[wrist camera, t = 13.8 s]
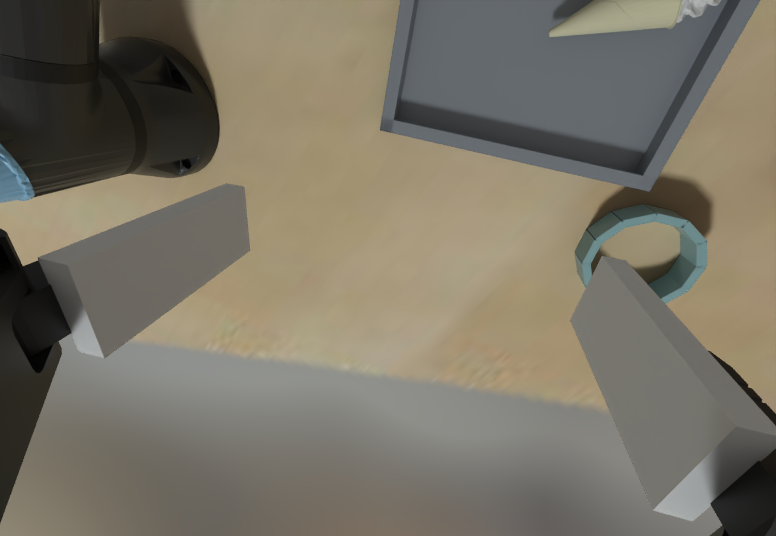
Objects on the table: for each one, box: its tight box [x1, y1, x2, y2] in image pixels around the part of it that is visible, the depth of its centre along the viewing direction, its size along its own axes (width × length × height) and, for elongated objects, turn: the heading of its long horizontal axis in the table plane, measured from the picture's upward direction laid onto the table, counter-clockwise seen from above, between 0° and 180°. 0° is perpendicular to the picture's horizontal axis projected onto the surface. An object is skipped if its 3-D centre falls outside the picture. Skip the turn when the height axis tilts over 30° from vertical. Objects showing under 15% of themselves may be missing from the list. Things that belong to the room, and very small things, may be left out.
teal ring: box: [575, 204, 707, 304], centre depth 35 cm, size 11×11×3 cm
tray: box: [380, 0, 760, 192], centre depth 29 cm, size 26×18×3 cm
